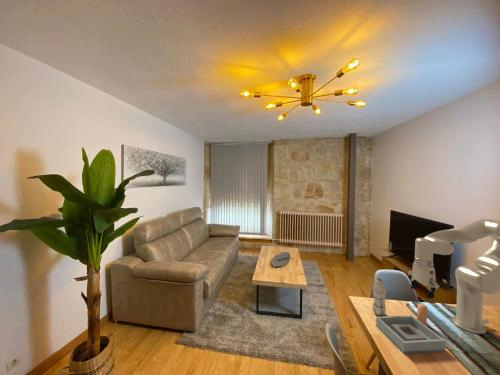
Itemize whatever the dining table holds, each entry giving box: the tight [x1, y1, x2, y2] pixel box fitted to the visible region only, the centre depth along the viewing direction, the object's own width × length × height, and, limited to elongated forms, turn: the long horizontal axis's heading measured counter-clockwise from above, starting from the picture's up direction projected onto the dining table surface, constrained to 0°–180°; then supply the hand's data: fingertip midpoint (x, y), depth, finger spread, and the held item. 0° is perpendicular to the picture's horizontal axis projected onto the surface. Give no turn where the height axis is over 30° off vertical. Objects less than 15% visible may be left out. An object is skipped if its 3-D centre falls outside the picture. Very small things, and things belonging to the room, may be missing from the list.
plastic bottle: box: [372, 278, 387, 317], centre depth 122 cm, size 6×7×20 cm
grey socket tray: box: [375, 314, 446, 355], centre depth 103 cm, size 20×18×5 cm
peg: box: [416, 303, 428, 327], centre depth 113 cm, size 4×4×10 cm
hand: (422, 293), depth 113 cm, fingers open, 9 cm apart
